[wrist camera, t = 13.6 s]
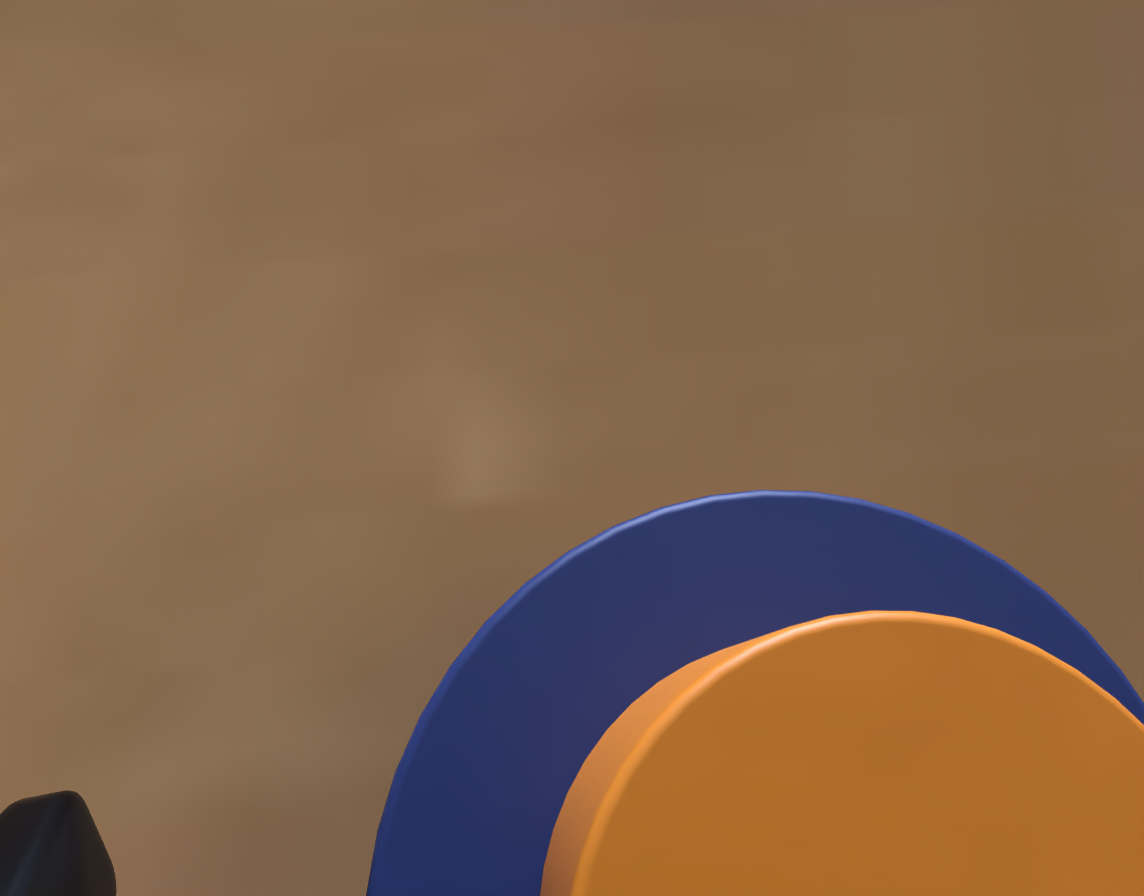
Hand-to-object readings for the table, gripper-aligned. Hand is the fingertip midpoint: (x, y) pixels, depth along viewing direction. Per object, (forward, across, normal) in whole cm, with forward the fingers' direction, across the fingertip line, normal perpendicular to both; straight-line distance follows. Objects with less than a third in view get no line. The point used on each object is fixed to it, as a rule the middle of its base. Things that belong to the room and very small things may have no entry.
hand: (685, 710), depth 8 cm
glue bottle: (+4, 0, +5) cm, 6 cm away
